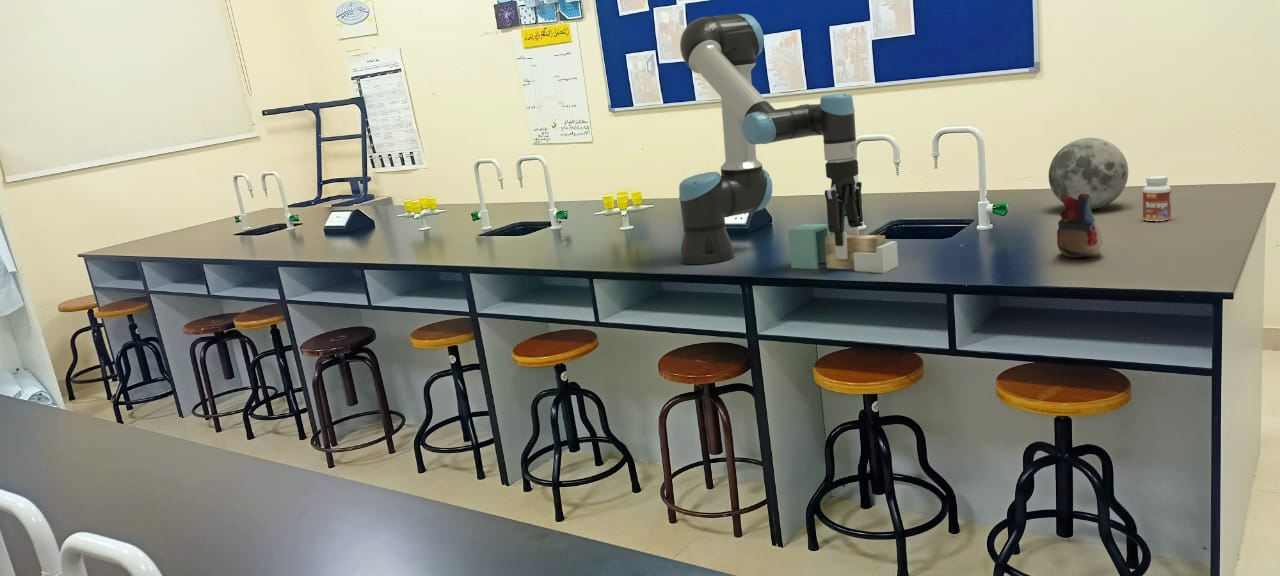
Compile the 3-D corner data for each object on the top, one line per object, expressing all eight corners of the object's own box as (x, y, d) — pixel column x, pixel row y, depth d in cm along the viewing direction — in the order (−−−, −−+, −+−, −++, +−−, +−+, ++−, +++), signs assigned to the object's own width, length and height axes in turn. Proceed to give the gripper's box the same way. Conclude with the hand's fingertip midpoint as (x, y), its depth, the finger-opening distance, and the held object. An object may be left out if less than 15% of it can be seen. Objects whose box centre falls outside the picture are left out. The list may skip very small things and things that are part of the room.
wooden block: (826, 269, 225) (824, 237, 223) (835, 266, 228) (833, 234, 226) (879, 272, 216) (876, 238, 214) (887, 268, 218) (885, 235, 217)
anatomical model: (1105, 250, 208) (1104, 184, 204) (1100, 263, 197) (1099, 193, 194) (1060, 251, 212) (1058, 187, 209) (1053, 263, 202) (1051, 195, 199)
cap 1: (791, 268, 230) (787, 229, 228) (807, 261, 235) (803, 223, 233) (816, 269, 225) (813, 229, 223) (831, 262, 230) (828, 224, 228)
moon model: (1070, 202, 272) (1068, 134, 268) (1141, 204, 256) (1140, 132, 252) (1036, 214, 260) (1033, 144, 256) (1108, 216, 244) (1107, 141, 240)
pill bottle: (1142, 223, 232) (1142, 179, 229) (1142, 218, 237) (1142, 175, 234) (1171, 222, 229) (1171, 177, 226) (1170, 217, 234) (1170, 174, 231)
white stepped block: (854, 271, 218) (852, 246, 217) (869, 264, 223) (868, 240, 222) (883, 273, 213) (881, 247, 212) (898, 266, 218) (896, 241, 217)
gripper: (835, 165, 208) (843, 264, 213) (874, 154, 221) (880, 248, 226) (807, 166, 214) (815, 263, 218) (846, 155, 226) (853, 247, 231)
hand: (848, 255), depth 222 cm, fingers open, 5 cm apart
